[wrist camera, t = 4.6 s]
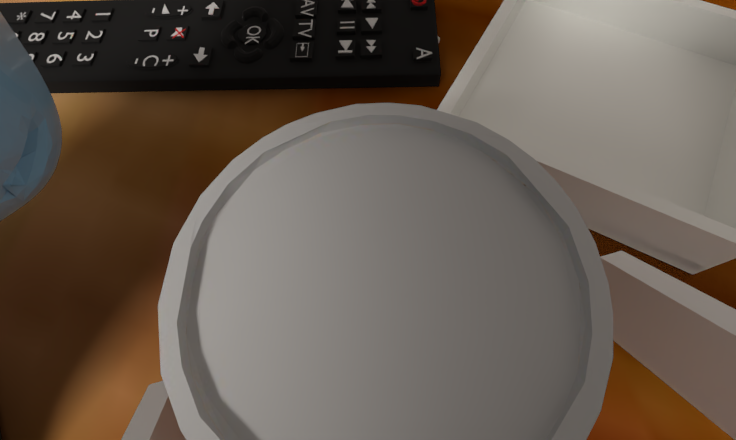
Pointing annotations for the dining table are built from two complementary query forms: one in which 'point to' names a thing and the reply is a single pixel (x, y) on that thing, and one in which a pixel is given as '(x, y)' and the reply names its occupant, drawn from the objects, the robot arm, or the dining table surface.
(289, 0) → the remote control
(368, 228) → the disposable coffee cup
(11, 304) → the dining table surface
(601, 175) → the tray
